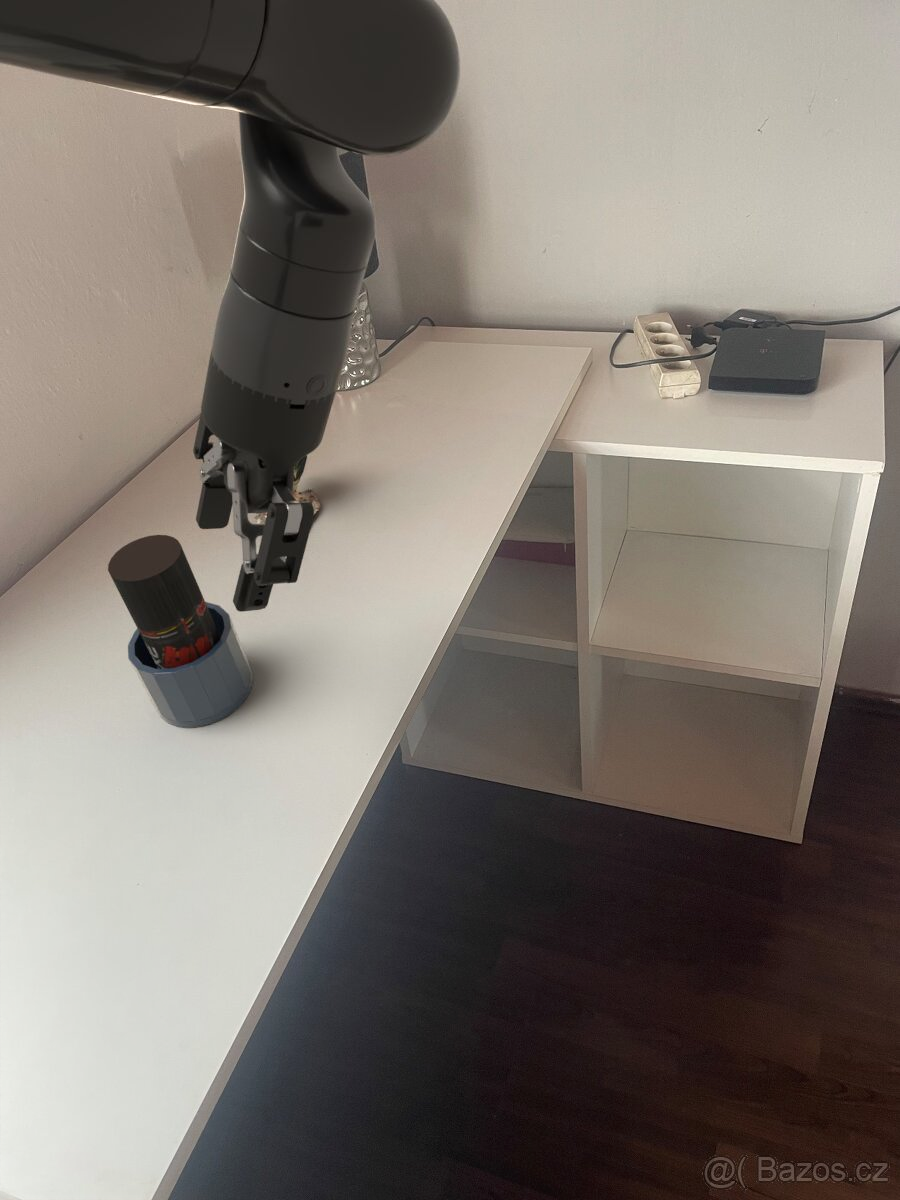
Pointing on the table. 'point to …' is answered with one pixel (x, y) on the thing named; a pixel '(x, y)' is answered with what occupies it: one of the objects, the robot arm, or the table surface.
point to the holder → (197, 678)
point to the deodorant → (164, 600)
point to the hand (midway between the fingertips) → (229, 565)
